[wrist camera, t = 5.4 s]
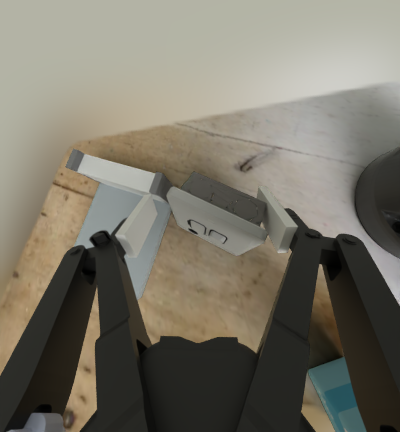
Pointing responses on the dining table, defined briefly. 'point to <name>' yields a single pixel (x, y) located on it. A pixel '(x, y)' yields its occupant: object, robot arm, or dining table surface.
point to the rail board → (123, 207)
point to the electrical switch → (218, 214)
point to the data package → (337, 395)
